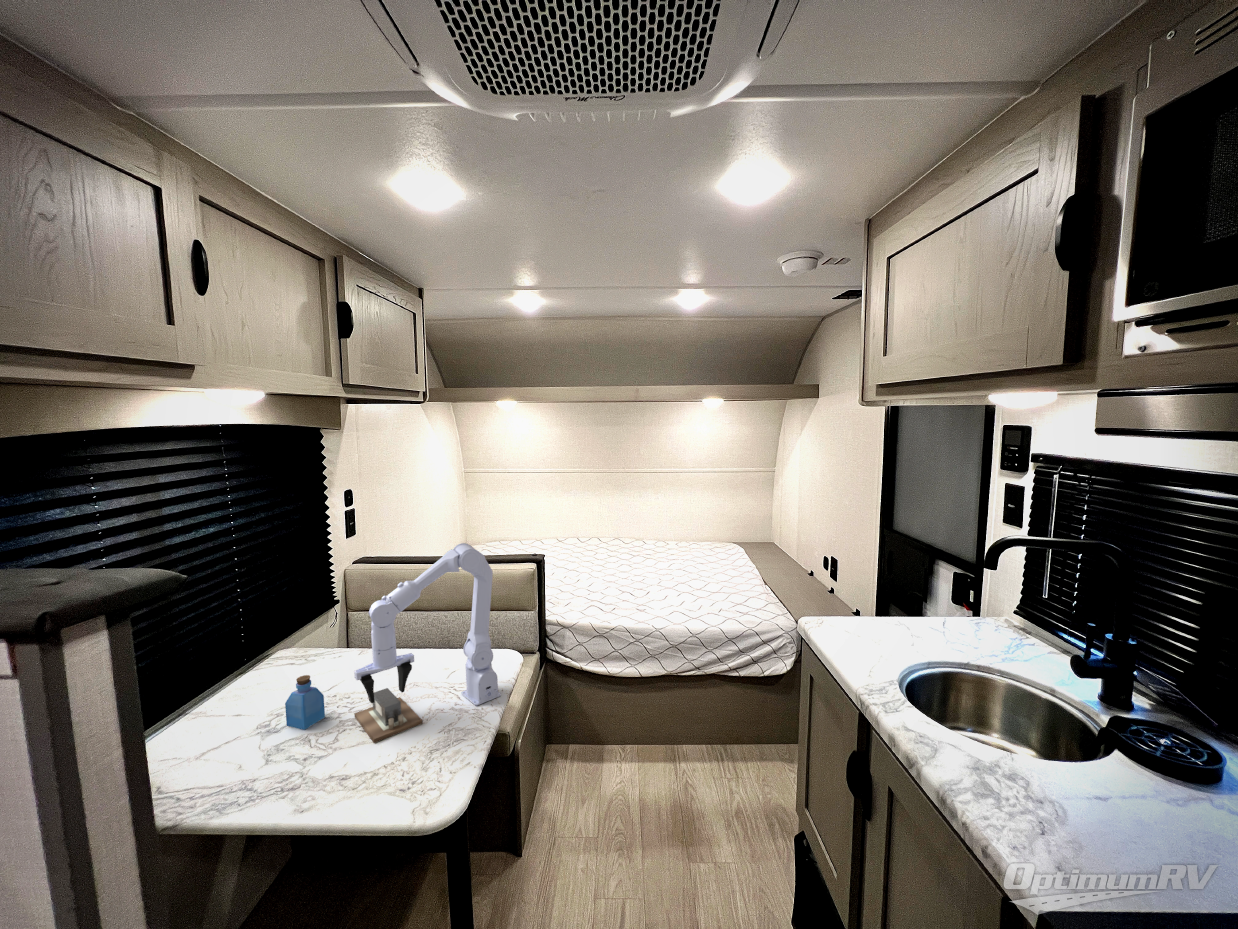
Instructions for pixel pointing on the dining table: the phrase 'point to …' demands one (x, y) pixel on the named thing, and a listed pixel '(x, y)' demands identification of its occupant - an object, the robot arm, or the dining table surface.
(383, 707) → the block
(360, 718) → the pin tray
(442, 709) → the dining table surface
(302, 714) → the perfume bottle
